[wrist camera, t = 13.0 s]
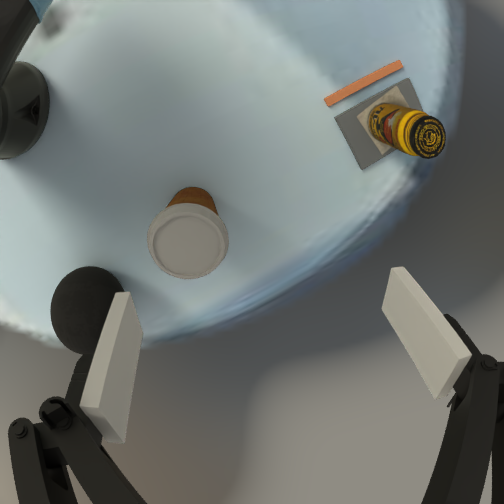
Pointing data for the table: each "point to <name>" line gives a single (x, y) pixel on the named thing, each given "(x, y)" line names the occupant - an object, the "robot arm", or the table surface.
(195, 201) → the disposable coffee cup
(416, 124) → the condiment
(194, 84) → the table surface
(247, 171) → the table surface
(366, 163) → the mat
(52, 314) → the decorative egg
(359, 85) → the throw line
